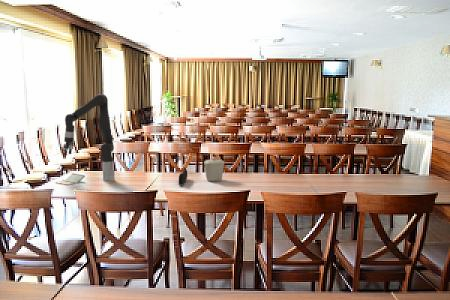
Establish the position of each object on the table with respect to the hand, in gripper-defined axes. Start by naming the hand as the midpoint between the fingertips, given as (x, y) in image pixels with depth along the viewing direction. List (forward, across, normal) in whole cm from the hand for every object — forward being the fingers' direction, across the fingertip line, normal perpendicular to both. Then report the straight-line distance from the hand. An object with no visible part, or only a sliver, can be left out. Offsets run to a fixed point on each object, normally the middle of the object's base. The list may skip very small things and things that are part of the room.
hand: (67, 154), depth 358 cm
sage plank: (+18, -9, -13) cm, 24 cm away
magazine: (+8, -2, -105) cm, 105 cm away
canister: (+4, +9, -130) cm, 131 cm away
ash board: (+21, -18, -9) cm, 29 cm away
